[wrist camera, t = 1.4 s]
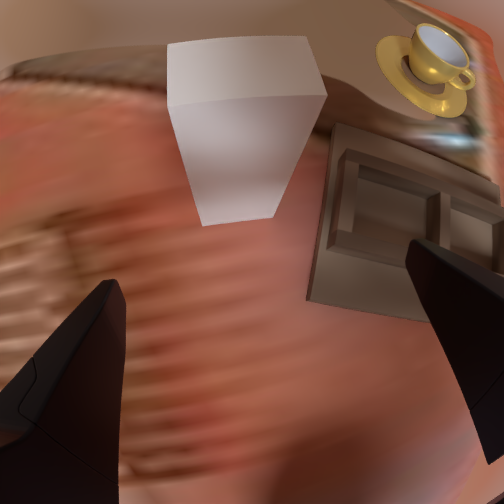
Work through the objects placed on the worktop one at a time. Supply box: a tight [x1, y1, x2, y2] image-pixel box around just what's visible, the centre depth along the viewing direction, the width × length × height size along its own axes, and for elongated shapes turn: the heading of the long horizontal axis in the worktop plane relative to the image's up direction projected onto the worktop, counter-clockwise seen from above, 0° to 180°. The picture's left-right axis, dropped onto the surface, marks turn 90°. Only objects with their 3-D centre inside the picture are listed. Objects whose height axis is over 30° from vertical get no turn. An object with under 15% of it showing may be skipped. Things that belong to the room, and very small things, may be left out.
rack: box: [306, 122, 504, 323], centre depth 22 cm, size 14×18×3 cm
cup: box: [375, 23, 476, 118], centre depth 25 cm, size 12×12×5 cm
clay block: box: [167, 36, 328, 226], centre depth 16 cm, size 3×5×14 cm, turn 98°
